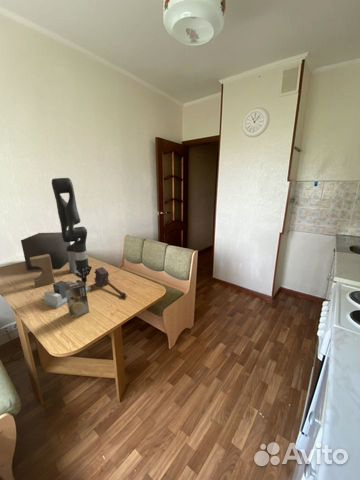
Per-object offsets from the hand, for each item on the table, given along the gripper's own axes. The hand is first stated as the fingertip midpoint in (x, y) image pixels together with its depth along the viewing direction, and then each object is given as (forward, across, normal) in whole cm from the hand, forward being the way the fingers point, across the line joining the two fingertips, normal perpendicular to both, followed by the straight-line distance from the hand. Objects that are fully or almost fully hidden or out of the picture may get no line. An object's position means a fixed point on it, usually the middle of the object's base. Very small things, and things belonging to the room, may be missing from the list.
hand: (84, 282), depth 133 cm
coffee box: (+4, -21, -20) cm, 29 cm away
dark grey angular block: (+4, +18, +61) cm, 64 cm away
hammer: (+4, +5, -18) cm, 20 cm away
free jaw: (+2, -6, 0) cm, 6 cm away
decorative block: (+4, -8, +29) cm, 31 cm away
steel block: (+2, -16, 0) cm, 16 cm away
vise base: (+4, -12, 0) cm, 13 cm away
